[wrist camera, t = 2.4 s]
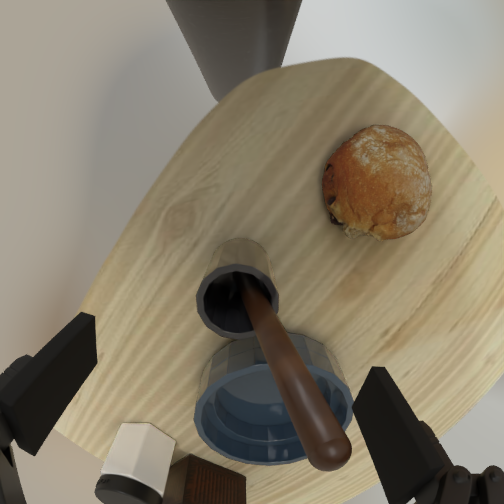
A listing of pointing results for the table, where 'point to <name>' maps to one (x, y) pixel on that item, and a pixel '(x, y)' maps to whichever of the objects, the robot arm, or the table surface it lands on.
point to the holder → (234, 287)
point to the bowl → (262, 402)
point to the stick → (295, 382)
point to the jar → (136, 466)
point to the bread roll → (378, 184)
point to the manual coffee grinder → (203, 483)
